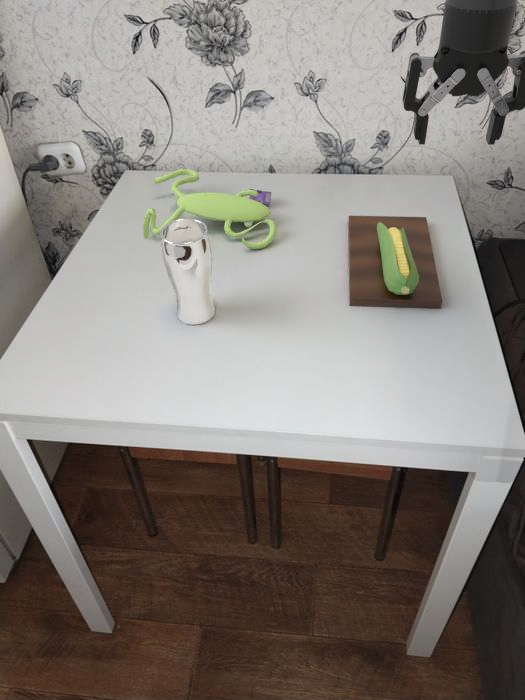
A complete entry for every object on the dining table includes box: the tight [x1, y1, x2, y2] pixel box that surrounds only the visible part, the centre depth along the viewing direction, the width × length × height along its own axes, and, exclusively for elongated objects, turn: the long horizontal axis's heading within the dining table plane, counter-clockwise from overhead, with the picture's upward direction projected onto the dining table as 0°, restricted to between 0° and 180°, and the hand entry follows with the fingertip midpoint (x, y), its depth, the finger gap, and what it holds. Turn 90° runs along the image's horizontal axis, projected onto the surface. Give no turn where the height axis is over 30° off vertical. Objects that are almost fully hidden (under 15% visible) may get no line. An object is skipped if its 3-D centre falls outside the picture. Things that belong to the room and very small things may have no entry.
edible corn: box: [377, 222, 419, 295], centre depth 95 cm, size 5×20×5 cm, turn 178°
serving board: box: [347, 215, 443, 310], centre depth 100 cm, size 24×14×2 cm, turn 174°
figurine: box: [143, 168, 277, 250], centre depth 110 cm, size 18×27×6 cm
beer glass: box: [160, 217, 216, 326], centre depth 87 cm, size 7×7×15 cm
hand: (455, 142), depth 75 cm, fingers open, 8 cm apart
